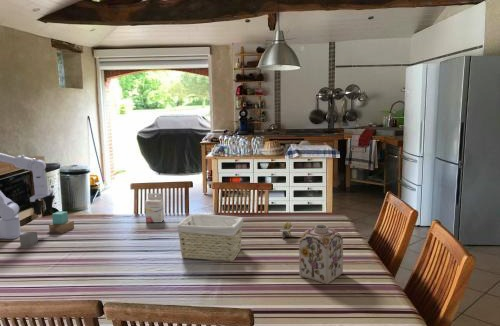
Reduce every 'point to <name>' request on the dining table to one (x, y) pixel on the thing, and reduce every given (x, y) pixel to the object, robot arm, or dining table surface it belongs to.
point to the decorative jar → (321, 254)
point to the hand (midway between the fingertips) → (44, 212)
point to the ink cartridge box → (154, 208)
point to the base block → (61, 227)
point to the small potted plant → (286, 229)
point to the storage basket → (210, 237)
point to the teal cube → (60, 217)
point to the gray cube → (28, 238)
